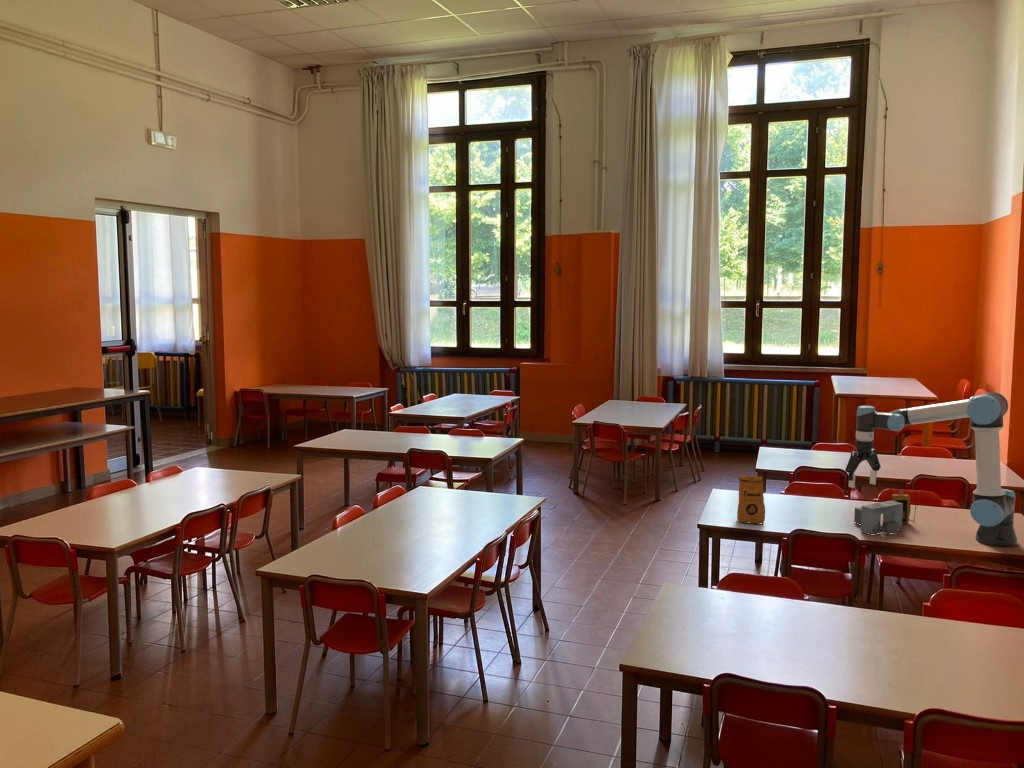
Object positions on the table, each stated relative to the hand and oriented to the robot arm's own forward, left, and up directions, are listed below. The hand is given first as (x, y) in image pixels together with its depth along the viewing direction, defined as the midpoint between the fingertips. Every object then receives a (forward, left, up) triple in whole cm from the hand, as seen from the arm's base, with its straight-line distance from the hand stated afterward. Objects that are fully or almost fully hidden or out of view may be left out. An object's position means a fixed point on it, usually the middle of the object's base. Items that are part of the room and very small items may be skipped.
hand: (862, 485), depth 366 cm
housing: (-11, 0, -18) cm, 21 cm away
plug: (-7, -2, -18) cm, 20 cm away
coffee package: (+26, +42, -18) cm, 53 cm away
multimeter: (-3, -20, -19) cm, 27 cm away
